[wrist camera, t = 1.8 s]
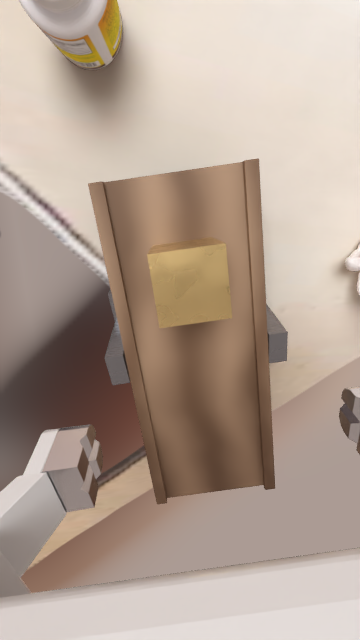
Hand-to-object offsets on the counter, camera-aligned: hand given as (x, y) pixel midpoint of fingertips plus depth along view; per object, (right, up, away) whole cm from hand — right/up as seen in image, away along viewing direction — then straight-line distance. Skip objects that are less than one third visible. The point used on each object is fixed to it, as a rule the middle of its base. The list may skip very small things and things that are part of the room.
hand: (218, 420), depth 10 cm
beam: (0, 0, +18) cm, 18 cm away
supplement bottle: (-9, +27, +15) cm, 32 cm away
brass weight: (-1, +7, +14) cm, 16 cm away
